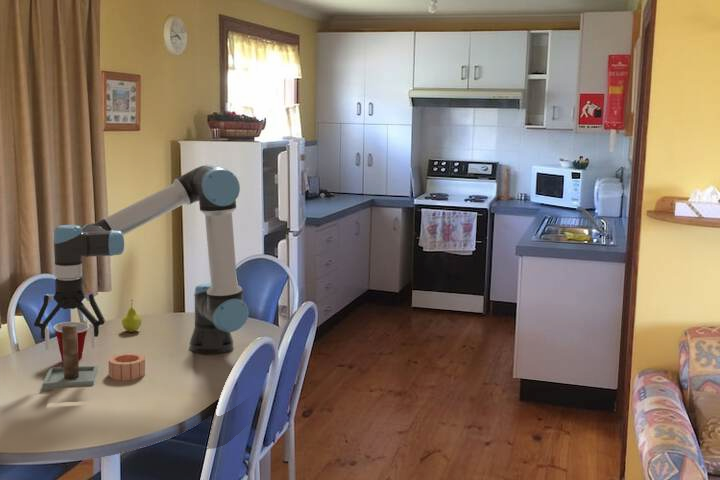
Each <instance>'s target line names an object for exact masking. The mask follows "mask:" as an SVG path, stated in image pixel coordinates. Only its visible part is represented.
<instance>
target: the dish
mask: <svg viewBox="0 0 720 480" xmlns="http://www.w3.org/2000/svg"><path fill="white" fill-rule="evenodd" d="M98 372H99V365H97V364H96V365H81V366H79V377H78V378H76V379H72V380H67V379H64V366H57V367H49V369H48V371H47V373H46V375H45V377H44V380H43V381H42V391H47V392H48V391H53V389H54V388H63V387H81V386H94V385H95V383H96V382H95V381H96V378H97V374H98Z"/></svg>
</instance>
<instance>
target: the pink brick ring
mask: <svg viewBox="0 0 720 480" xmlns="http://www.w3.org/2000/svg"><path fill="white" fill-rule="evenodd" d="M107 362H108V378H110V379H112V380H115V381H130V380H131V381H132V380H137V379H140V378H142V377H144V376H145V375H146V356H145V355H143V354H141V353H135V352H125V353H119V354H114V355H112V356H110V357H109V358H108V361H107Z"/></svg>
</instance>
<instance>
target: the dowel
mask: <svg viewBox="0 0 720 480" xmlns="http://www.w3.org/2000/svg"><path fill="white" fill-rule="evenodd" d="M62 340H63V361H62V363H63V367H64V379H67V380H72V379H76V378H78V377H79V365H80V363H79V360H78V336H77V325H76V324H67V325H63V326H62Z"/></svg>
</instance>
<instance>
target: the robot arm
mask: <svg viewBox="0 0 720 480" xmlns="http://www.w3.org/2000/svg"><path fill="white" fill-rule="evenodd" d="M240 188H241V187H240V182H239V179H238V177H237V176H236V175H235V174H234V173H233V172H232V171H230V170H228V168H225V167H221V166H214V165H210V164H209V165H208V164H205V165H204V164H203V165H201V166H198V167H195V168H194V169H192V170H190V171H188V172H187V173H184V174H182V175H181V176H178V177H177V178H175V179H174V180H173V183H172V184H170V185H168V186H166V187H163V188H161V189H160V190H158V191H155V192H153V193H152V194H150V195H148V196H146V197H143V198H142V199H140V200H138V201H136V202H134V203H132V204H130V205H128V206H126V207H124V208H122V209H120V210H118V211H116V212H114V213H113V214H110V215H108V216H107V217H105V218H103V219H99V220H98V221H96V222H93V223H92V222H91V223H86V224H85V225H83V227H81V226H80V225H76V224H63V225H58V226H56V227H55V228H54V229H53V230H54V231H53V232H54V233H53V251H54V253H53V254H54V277H55V279H54V284H55V285H54V287H55V288H54V289H55V293H54V294H49V293H45V294H44V296H43V303H42V306H41V307H40V310H39V312H38V315H37V316H36V319H35V321H34V323H33V325H34V327H37V328H40V336H41V339H44V342H45V344H44V348H45V351H49V350H50V347H51V345H50V344H51V343H50V326H49V325H48V324H49V323H50V321H52V319H54V317H55V316H56V314H57V313H58V312H59V310H61V309H63V310H68V309H71V310H75V309H78V310H79V311H80V312H81V313H82V314H83V315H84V316H85V318H86V319H87V320H88V321H89V323H91V327H90V329H91V330H90V332H91V333H90V334H91V342H90V343H91V349H95V347H96V338H97V337H99V333H100V330H99V329H100V327H99V326H101V325H104V324H105V322H106V320H105V318H104V316H103V313H102V312H101V310H100V307H99V305H98V304H97V302H96V300H95V293H94V292H89V293H85V294H84V289H83V286H84V285H83V278H82V277H83V258H89V257H106V256H107V257H109V256H110V257H112V256H119V255H122V254H123V253H124V249H125V238H124V236H125V235H126V234H129V233H130V232H133V231H134V230H137V229H138V228H139V229H140V228H141V227H143V226H144V225H146V224H149V223H151V222H152V221H154V220H156V219H158V218H160V217H162V216H163V215H165V214H168V213H170V212H171V211H173V210H175V209H177V208H179V207H181V206H183V205H187V206H189V205H191V204H193V203H196V202H198V204H199V211H200V212H201V213H202V214H204V217H205V218H204V219H205V220H204V221H205V229H206V230H205V231H206V243H207V253H208V266H209V278H210V283H203V284H197V285H196V286H195V288H194V294H193V296H194V328H193V331H192V334H191V337H190V339H189V340H190V341H189V351H191V352H193V353H196V354H201V355H217V354H218V355H219V354H224V353H228V352H230V351H232V350H233V349H234V339H233V335H232V334H231V333H233V332H236V331H238V330H240V329H241V328H243V326H245V324H246V323H247V321H248V318H249V315H250V314H249V308H248V307H249V306H248V305H247V304H246V302H245V301H244V295H243V293H244V292H243V288H242V286H240V285H239V284H238V279H237V278H238V276H237V265H236V264H237V263H236V253H235V251H236V249H235V248H236V247H235V239H234V238H235V237H234V225H233V224H234V223H233V213H234V211H235V210H236V209H237V198H238V197H239V195H240V191H241V189H240ZM84 299H86V301H87V302H89V304H90V307H91V308H92V310H93V312H94V314H95V316H96V317H95V316H94V315H93V314H92V313H91V312H90V311H89V309H88V308H87V307H86V306H85V304H84V303H83V301H84ZM53 300H54V301H55V302H56V303H57V304H56V306H55V307H54V308H52V311H50V313H49V314H48V316H47V317H46V318H45V319H44V320H43V321H42V318H43V316H44V314H45V312H46V309H47V307H48V305H49V303H51V302H52V301H53ZM47 325H48V326H47Z"/></svg>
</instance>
